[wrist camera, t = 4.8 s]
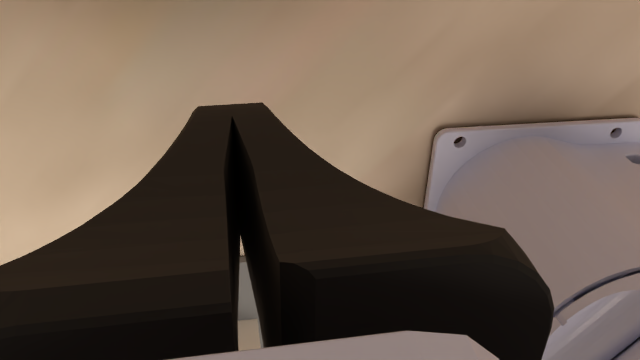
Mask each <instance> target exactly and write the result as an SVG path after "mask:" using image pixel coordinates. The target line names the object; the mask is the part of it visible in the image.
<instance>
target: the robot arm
mask: <svg viewBox="0 0 640 360" xmlns="http://www.w3.org/2000/svg"><path fill="white" fill-rule="evenodd" d="M615 128H616V130H615V131H614V132H613V133H612V134H610V133H611V132H612V130H613V129H615ZM458 137H463V138H462V140H461V141H460V142H459V143H454V141H455V139H457V138H458ZM240 235H241V239H242V244H243V249H244V253H245V258H246V263H247V267H248V272H249V276H250V281H251V285H252V290H253V294H254V299H255V304H256V308H257V313H258V317H259V322H260V328H261V334H262V340H263V348H258V349H250V350H242V351H239V349H238V301H239V268H240ZM0 360H640V118H621V119H603V120H585V121H567V122H549V123H531V124H513V125H495V126H477V127H459V128H446V129H442V130H441V131H439V132H438V133H437V134H436V135H435V138H434V142H433V149H432V156H431V163H430V169H429V176H428V183H427V190H426V197H425V204H424V208H421V207H417V206H415V205H412V204H409V203H406V202H404V201H401V200H398V199H396V198H394V197H391V196H389V195H387V194H385V193H382V192H380V191H378V190H375V189H373V188H371V187H369V186H367V185H365V184H363V183H361V182H359V181H358V180H356V179H354V178H352V177H351V176H349V175H347V174H346V173H344V172H342V171H340V170H339V169H337V168H336V167H334V166H332V165H331V164H329V163H328V162H327V161H325V160H324V159H323V158H321V157H320V156H319V155H317V154H316V153H315V152H313V151H312V150H311V149H309V148H308V147H307V146H306V145H305V144H304V143H302V142H301V141H300V140H299V139H298V138H297V137H296V136H295V135H294V134H293V133H291V132H290V131H289V130H288V129H287V128H286V127H285V126H284V125H283V124H282V123H281V121H280V120H279V119H278V118H277V117H276V116H275V115H274V114H273V113H272V112H271V111H270V110H269V108H268V107H266V106H265V105H264V104H263V103H248V104H231V105H214V106H198V107H197V108H196V109H195V110H194V111H193V113H192V115H191V117H190V118H189V120H188V122H187V123H186V125H185V127H184V128H183V130H182V131H181V133H180V134H179V136H178V137H177V138H176V140H175V141H174V142H173V144H172V145H171V146H170V148H169V149H168V150H167V152H166V153H165V154H164V156H163V157H162V158H161V159H160V160H159V161H158V162H157V164H156V165H155V166H154V167H153V168H152V169H151V170H150V171H149V173H148V174H147V175H146V176H145V177H144V178H143V179H142V180H141V181H140V182H139V183H138V184H137V185H136V186H135V187H133V188H132V189H131V190H130V191H129V192H127V193H126V194H125V195H124V196H123V197H122V198H120V199H119V200H118V201H116V202H115V203H114V204H112V205H111V206H109V207H108V208H106V209H105V210H103V211H102V212H100V213H99V214H98V215H96V216H95V217H93V218H92V219H90V220H89V221H87V222H86V223H84V224H83V225H81V226H80V227H78V228H76V229H75V230H73V231H71V232H69V233H67V234H66V235H64V236H62V237H60V238H59V239H57V240H55V241H53V242H51V243H49V244H47V245H45V246H43V247H41V248H39V249H37V250H35V251H33V252H31V253H29V254H27V255H24V256H22V257H20V258H18V259H15V260H13V261H10V262H8V263H6V264H3V265H1V266H0Z"/></svg>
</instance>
